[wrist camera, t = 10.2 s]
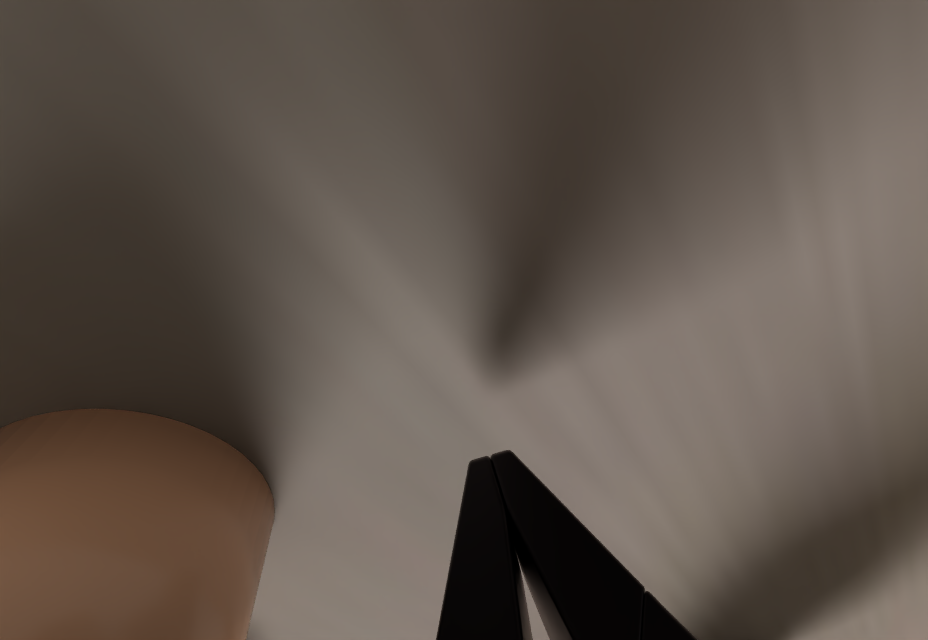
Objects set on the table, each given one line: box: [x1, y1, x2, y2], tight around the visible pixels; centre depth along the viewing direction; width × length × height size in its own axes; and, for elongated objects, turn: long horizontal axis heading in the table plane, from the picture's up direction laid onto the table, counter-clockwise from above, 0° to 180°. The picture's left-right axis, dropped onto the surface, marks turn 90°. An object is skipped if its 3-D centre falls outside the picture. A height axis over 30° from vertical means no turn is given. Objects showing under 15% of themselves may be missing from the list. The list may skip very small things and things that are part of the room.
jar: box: [0, 409, 275, 640], centre depth 7 cm, size 6×6×5 cm
